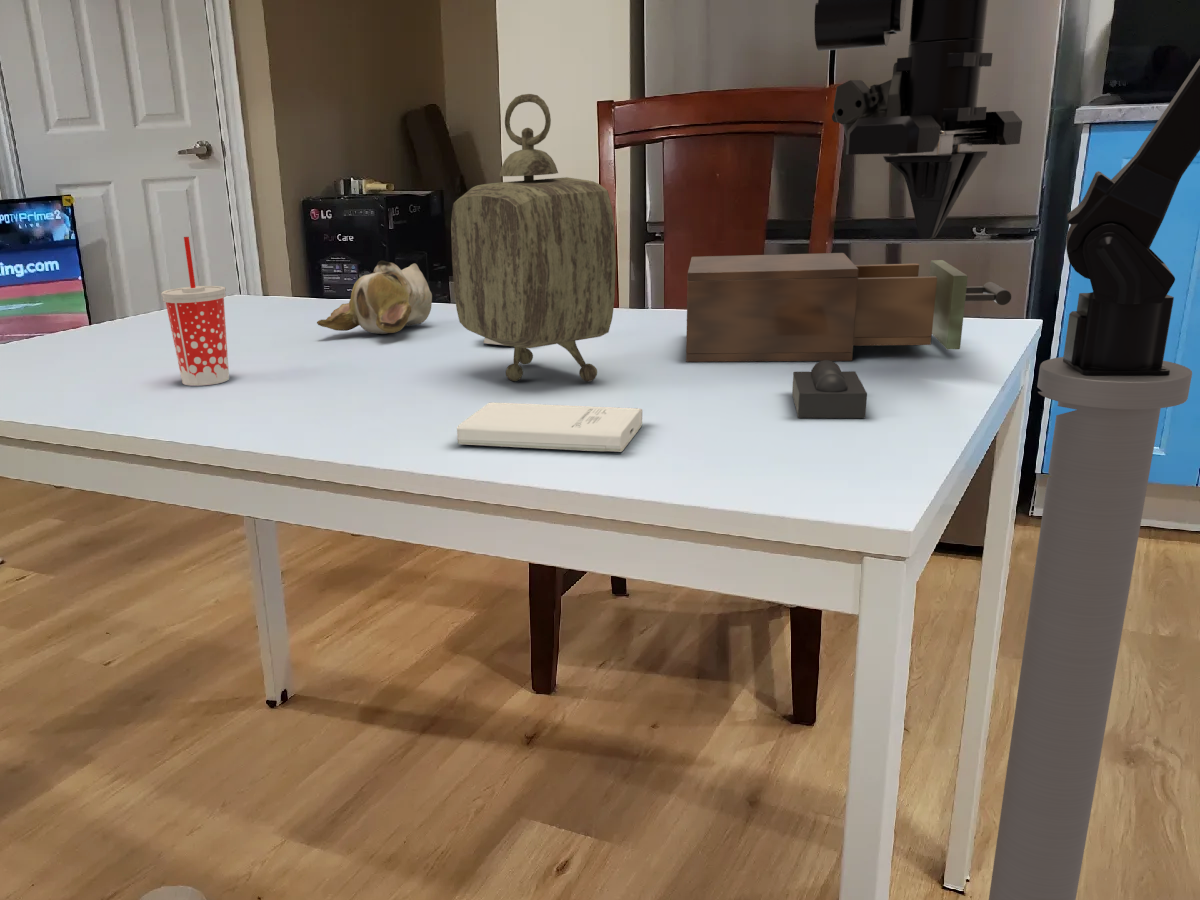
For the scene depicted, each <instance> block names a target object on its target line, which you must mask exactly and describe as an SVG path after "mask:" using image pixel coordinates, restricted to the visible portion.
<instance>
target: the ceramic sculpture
mask: <svg viewBox="0 0 1200 900" xmlns="http://www.w3.org/2000/svg"><path fill="white" fill-rule="evenodd" d="M432 303H433V293H432V291H431V290H430V287H429V283H428V282H427V278H426V277H425V275H424V274H423V272H422V271H421V270H420V268H419V266H418V264H417V263H412V264H410V265H409V266H408V267H404V268H403V269H401V268H400V267H399V266H398V265H397V264H395V263H394V262H389V261H386V260H380V261H378V262H377V264H376V266H375V267H374V269H373V272H372V273H368V274H364V275H362V276H360V277H359V278H358V279H357V280H356V281H355V282H354V284H353V287H352V290H351V293H350V299H349V301H348V303H341V304H340V305H339V307H337V308H335V309H334V310H333V311H332V312H330V315H329V316H328V317H326V319H319V320H318V321H316V324H317V326H319V327H323V328H327V329H330V330H333V331H337V332H338V331H339V332H346V331H352V330H353V329H355V328H357V327H358V326H360V328H362V330H364V331H366V332H367V333H371V334H378V335H379V334H381V335H386V334H395V333H398V332H400V331H401V330H403V329H404V327H405V326H407V327H410V326H415V325H421V324H423V323H425V322H426V320H428V317H429V315H430V314H431V311H432V305H433V304H432Z"/></svg>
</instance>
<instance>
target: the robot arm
mask: <svg viewBox="0 0 1200 900" xmlns="http://www.w3.org/2000/svg"><path fill="white" fill-rule="evenodd" d="M911 3H912V5H911V14H910V15H911V16H910V26H909V27H910V28H909V39H908V48H907V49H908V51H907V57H906V56H905V57H897V58H896V62H894V64H893V67H892V76H891V79H889V80H887V81H884V82H883V83H880V84H879V83H878V84H872V85H870V86H868V85H867V84H866V83H865V82H864V81H863V80H861V79H850V80H848V81H845V82H843V83H842V84H839V85H838V86H836V90H835V96H834V101H833V112H832V115H831V120H832V122H833V123H838V124H840V125H842V128H843V131H844V134H845V139H846V151H845V155H883V156H882V158H883V160H884V162H885V163H890V164H891V165H892V166H893V167H894V168H895V169H896V170H897V171H898V172H900V174H901V175H902V176H903V178H904V181H905V184H906V187H907V190H908V194H909V199H910V203H911V207H912V212H913V216H914V220H915V224H916V225H915V226H916V229H917V234H918V238H920V239H922V240H931V239H935V238H937V235H938V233H939V232H940V230H941V228H942V226H943V225H944V223H945V222H946V220H947V218H948V216H949V214H950V213H951V210H952V208H953V207H954V205H955V204H956V202H957V200H958V199H959V197H960V196H961V194H962V191H963V190H964V188H965V187H966V186H967V183H968V182H969V180H970V179H971V178H972V176H973V174H974V173H975V171H976V169H977V168H978V166H979V165H980V163H981V162H982V160H983V159H985V158H987V156H988V151H986V150H985V151H984V150H983V151H981V150H980V151H973V146H984V145H987V146H988V145H989V146H990V145H999V146H1008V145H1011V146H1012V145H1019V144H1021V136H1022V128H1023V120H1022V118H1020V117H1019V116H1018V115H1017V113H1016V112H1015V111H1014V110H1001V111H1000V110H999V111H996V110H995V111H987V109H988V108H987V107H988V106H978V99H979V89H980V79H981V71H982V68H987V67H992V62H993V55H994V54H993V52H984V51H983V50H984V42H985V32H986V24H987V13H988V5H989V0H912V2H911ZM814 5H815V6H814V41H815V46H816V47H815V48H816V50H817V51H818V52H821V51H822V52H823V51H837V50H838V51H839V50H850V49H851V50H852V49H864V48H865V49H866V48H877V47H880V48H881V47H887V46H888V45H889V43H890V38H891V35H897V33H902V32H903V30H904V25H905V20H906V10H907V0H817V2H815V4H814ZM869 87H870V88H869ZM1199 152H1200V58H1199V59H1198V61H1197V62H1196V63H1195V65H1194V66H1193V68H1192V69H1191V71H1190V72H1189V73H1188V76H1187V77H1186V78H1185V80H1184V82H1183V83H1182V84H1181V86H1180V87H1179V89H1178V90H1177V92H1175V95H1174V96H1173V98H1172V99H1171V101H1170V102H1169V104H1168V105H1167V107H1166V108H1165V109H1164V111H1163V113H1162V114H1161V116H1160V117H1159V119H1158V120H1157V122H1156V123H1155V125H1154V126H1153V127H1152V129H1151V130H1150V132H1149V133H1148V135H1147V137H1146V138H1145V140H1144V141H1143V143H1142V144H1141V146H1140V147H1139V148H1138V150H1137V151H1136V153H1135V155H1134V156H1132V157H1131V158H1130V160H1129V161H1127V163H1125V165H1124V166H1123V167H1122V168H1121V169H1120V170H1119V171H1118V172H1117V173H1116V174H1115V175H1114V176H1113V177H1112V178H1110V177H1108V176H1107V175H1105V174H1104V173H1103V172H1102V171H1099V170H1097V171H1095V173H1094V175H1093V177H1092V179H1091V181H1090V183H1089V186H1088V188H1087V191H1086V192H1085V194H1084V197H1083V198H1082V200H1081V201H1080V202H1079V204H1077V206H1076V207H1074V208H1073V209H1072V210H1071V211H1069V212H1068V213H1067V214H1066V218H1067V223H1068V225H1070V226H1069V228H1068V229H1067V233H1066V238H1065V248H1066V249H1065V250H1066V254H1067V258H1068V259H1067V260H1068V262H1069V264H1070V266H1071V267H1072V268H1073V270H1074V272H1076V273H1077V274H1079V275H1080V276H1081V277H1083V278H1084V279H1087V280H1089V282H1090V285H1091V290H1092V292H1091V291H1090V292H1079V293H1078V299H1077V306H1076V310H1072V311H1071V312H1069V314H1068V321H1067V327H1066V335H1065V342H1064V349H1063V350H1064V351H1063V356H1062V357H1063V362H1065V363H1066V364H1067V365H1069V366H1070V367H1072V368H1073V369H1074V370H1076V371H1077V372H1079V373H1080V374H1082V375H1084V376H1168V375H1169V374H1170V369H1168V368H1166V367H1164V366H1162V365H1163V361H1164V358H1165V352H1166V347H1167V346H1166V345H1167V340H1168V335H1169V328H1170V323H1171V317H1172V312H1173V305H1174V300H1175V297H1174V296H1172V295H1169V293H1170V290H1171V288H1172V287H1173V286H1174V284H1175V282H1176V278H1175V275H1174V274H1173V272H1172V271H1171V270H1170V269H1169V267H1168V265H1166V263H1165V262H1164V261H1163V260H1162V259H1161V258H1160V257H1159V256H1158V255H1157V254H1156V253H1155V252H1154V251H1153V249H1151V246H1152V244H1153V242H1154V240H1155V238H1156V236H1157V234H1158V231H1159V229H1160V227H1161V225H1162V223H1163V221H1164V219H1165V216H1166V214H1167V212H1168V209H1169V207H1170V205H1171V202H1172V200H1173V197H1174V195H1175V192H1176V190H1177V187H1178V185H1179V183H1180V181H1181V179H1182V177H1183V175H1184V174H1185V172H1186V171H1187V170H1188V168H1189V166H1191V164H1192V162H1193V161H1194V159H1195V158H1196V157H1197V155H1198V154H1199Z"/></svg>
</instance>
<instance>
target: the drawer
mask: <svg viewBox="0 0 1200 900" xmlns="http://www.w3.org/2000/svg"><path fill="white" fill-rule="evenodd" d="M854 265H855V266H856V267H857V268H858V269H859V272H858V286H857V300H856V314H855V328H854V342H853V347H854V346H855V347H856V346H857V347H859V346H860V347H861V346H862V347H864V346H931V344H932V336H933V337H934V339H936V340H937V341H938V342H939V343H940V345H942V346H943V348H945V349H946V350H961V344H962V334H963V326H964V325H963V324H964V315H965V306H966V302H995V303H996V304H998V306H999V305H1000V306H1005V305H1008V304H1009V303H1010V302H1011V300H1012V293H1011V292H1010V291H1009V290H1008V289H1006V288H1004V287H1002V286H1000V285H998V284H997V283H995V282H993V281H987V282H985V283H984V284H983V285H980V286H978V285H977V286H976V285H975V286H968V278H969V277H968V275H967V274H966V273H964V272H963V271H961V270H959V269H958V268H956V267H955V266H953V265H951V264H950V263H948V262H947V261H945V260H943V259H939V260H938V259H936V260H935V259H933V260H932V259H931V260H930V266H929V274H928V275H929V276H919V274H920V273H919V271H920V264H919V263H883V264H881V263H880V264H877V263H876V264H854Z"/></svg>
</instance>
